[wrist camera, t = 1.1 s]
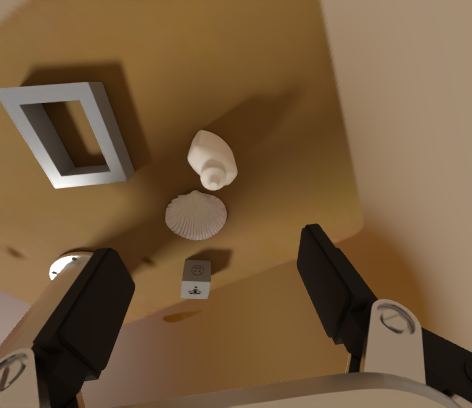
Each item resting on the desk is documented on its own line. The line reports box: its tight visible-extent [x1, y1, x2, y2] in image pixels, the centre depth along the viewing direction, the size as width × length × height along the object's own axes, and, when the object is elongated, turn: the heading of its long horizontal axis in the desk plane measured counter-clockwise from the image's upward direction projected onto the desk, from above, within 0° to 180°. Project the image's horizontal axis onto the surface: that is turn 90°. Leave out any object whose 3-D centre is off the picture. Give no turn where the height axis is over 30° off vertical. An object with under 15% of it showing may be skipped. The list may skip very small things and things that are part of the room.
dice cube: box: [181, 259, 211, 299], centre depth 38 cm, size 5×5×5 cm
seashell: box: [165, 190, 227, 240], centre depth 32 cm, size 10×6×10 cm
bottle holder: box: [0, 82, 135, 188], centre depth 24 cm, size 11×9×3 cm
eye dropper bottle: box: [188, 130, 237, 190], centre depth 22 cm, size 4×6×12 cm
